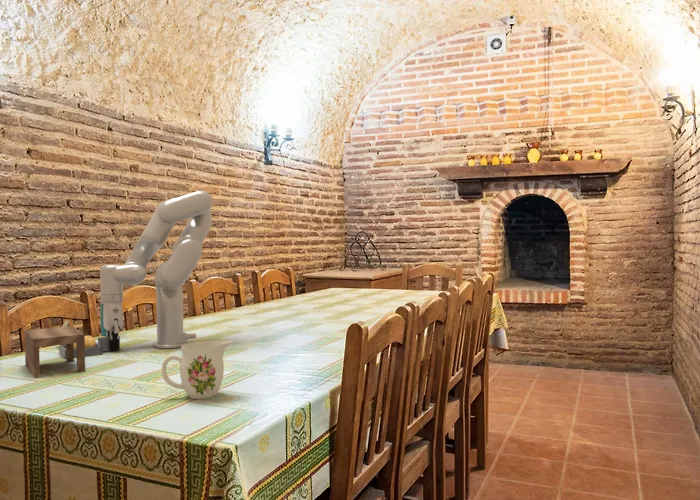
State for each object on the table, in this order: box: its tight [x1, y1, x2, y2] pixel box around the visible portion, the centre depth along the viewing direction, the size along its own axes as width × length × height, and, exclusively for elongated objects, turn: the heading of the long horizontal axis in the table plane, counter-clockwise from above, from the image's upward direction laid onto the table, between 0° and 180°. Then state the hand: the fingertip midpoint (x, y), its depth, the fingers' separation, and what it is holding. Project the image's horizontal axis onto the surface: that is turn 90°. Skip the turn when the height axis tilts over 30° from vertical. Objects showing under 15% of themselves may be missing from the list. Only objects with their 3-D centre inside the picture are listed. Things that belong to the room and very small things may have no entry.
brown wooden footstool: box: [24, 325, 86, 379], centre depth 189 cm, size 14×20×11 cm
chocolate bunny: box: [59, 320, 71, 346], centre depth 226 cm, size 6×8×10 cm
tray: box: [58, 335, 121, 360], centre depth 213 cm, size 19×11×6 cm, turn 125°
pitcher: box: [161, 340, 234, 400], centre depth 155 cm, size 11×18×14 cm, turn 105°
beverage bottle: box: [99, 300, 107, 337], centre depth 242 cm, size 6×7×20 cm
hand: (112, 348), depth 217 cm, fingers open, 3 cm apart
